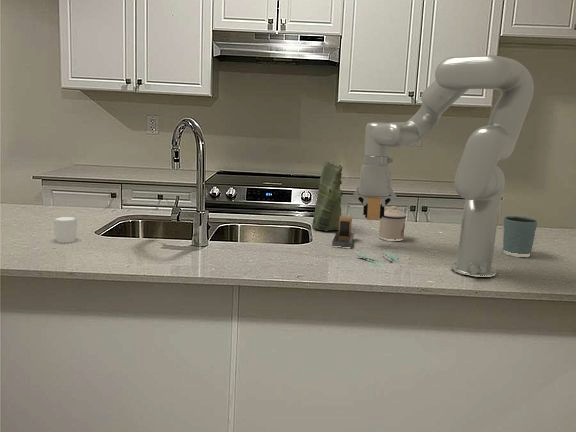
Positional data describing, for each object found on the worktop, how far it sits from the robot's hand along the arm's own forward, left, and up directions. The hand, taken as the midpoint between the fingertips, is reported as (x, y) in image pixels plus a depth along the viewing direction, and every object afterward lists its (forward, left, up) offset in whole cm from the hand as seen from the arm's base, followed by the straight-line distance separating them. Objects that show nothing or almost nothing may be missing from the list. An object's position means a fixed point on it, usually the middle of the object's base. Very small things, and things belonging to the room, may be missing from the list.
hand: (373, 217), depth 183 cm
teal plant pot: (+9, -47, -10) cm, 49 cm away
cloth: (-15, -4, -11) cm, 19 cm away
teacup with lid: (+15, -6, -10) cm, 20 cm away
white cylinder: (-27, +93, -10) cm, 97 cm away
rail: (+2, +9, -10) cm, 14 cm away
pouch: (+19, +17, -10) cm, 28 cm away
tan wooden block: (0, 0, -1) cm, 1 cm away
